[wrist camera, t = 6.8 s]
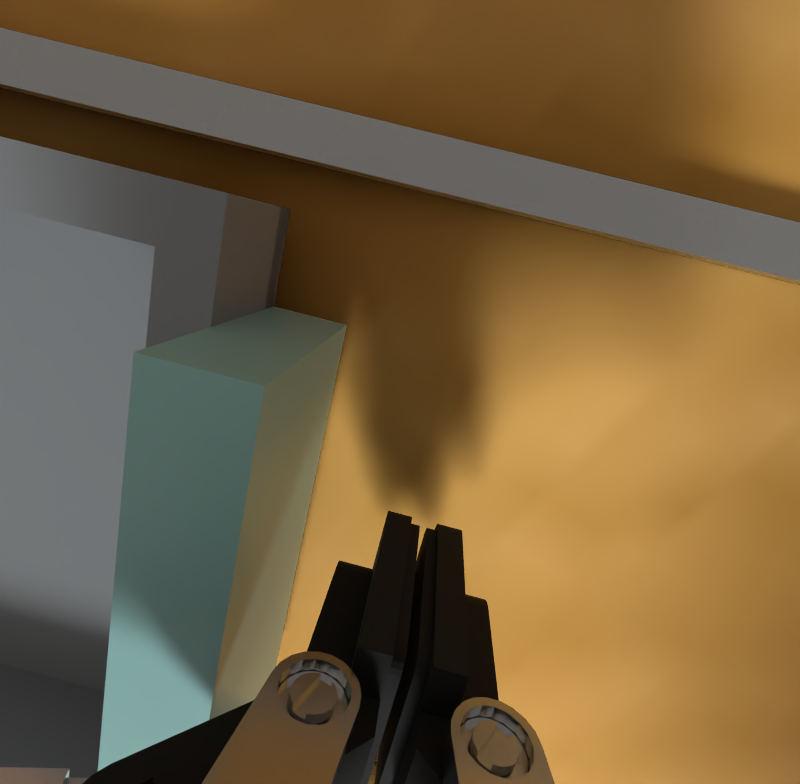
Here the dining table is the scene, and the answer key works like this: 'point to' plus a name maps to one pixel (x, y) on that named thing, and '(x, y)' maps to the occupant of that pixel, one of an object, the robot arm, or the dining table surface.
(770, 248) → the rails
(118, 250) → the drawer
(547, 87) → the dining table surface
